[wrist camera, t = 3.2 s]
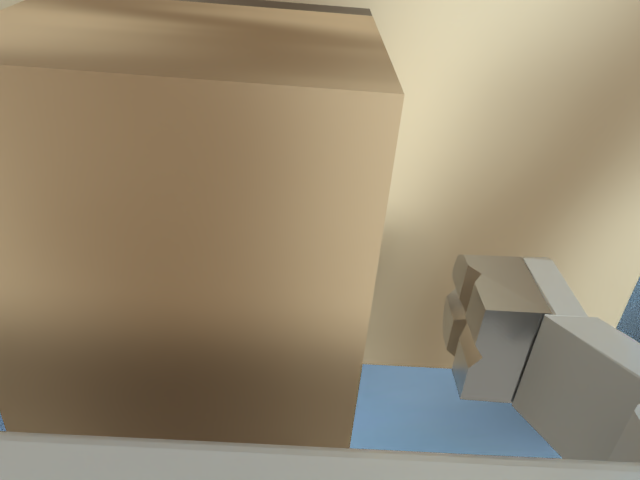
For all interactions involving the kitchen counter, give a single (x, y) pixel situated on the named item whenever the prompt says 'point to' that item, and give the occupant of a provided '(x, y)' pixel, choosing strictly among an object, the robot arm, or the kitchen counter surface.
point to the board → (505, 155)
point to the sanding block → (190, 216)
